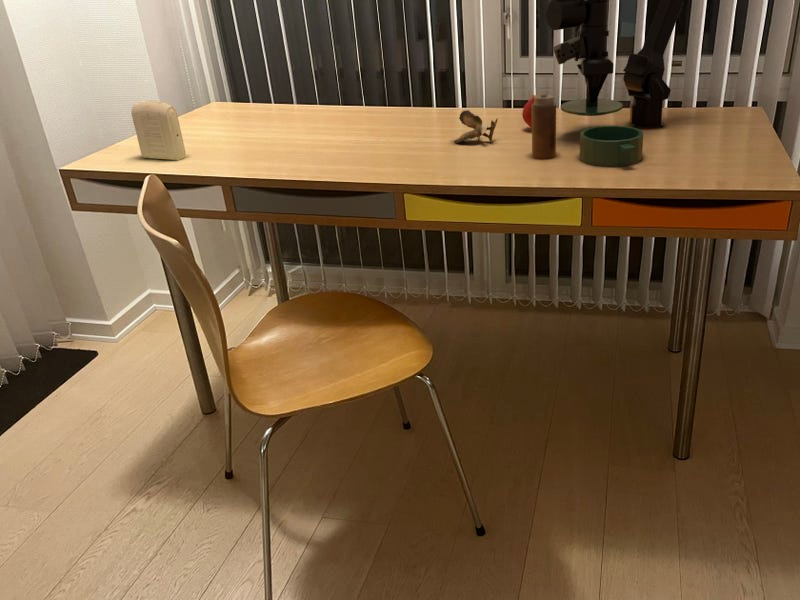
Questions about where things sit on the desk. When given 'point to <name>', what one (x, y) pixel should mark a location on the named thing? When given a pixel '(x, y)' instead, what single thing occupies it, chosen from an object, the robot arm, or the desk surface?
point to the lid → (591, 106)
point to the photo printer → (158, 130)
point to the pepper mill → (543, 127)
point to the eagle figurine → (475, 127)
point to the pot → (611, 145)
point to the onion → (528, 111)
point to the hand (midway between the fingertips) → (591, 100)
